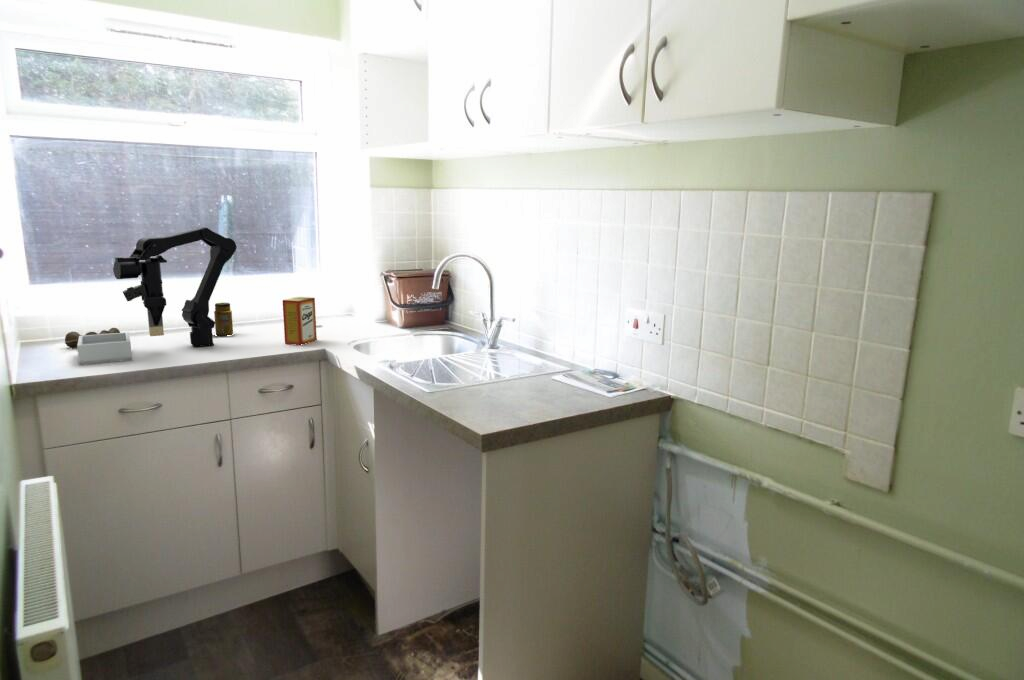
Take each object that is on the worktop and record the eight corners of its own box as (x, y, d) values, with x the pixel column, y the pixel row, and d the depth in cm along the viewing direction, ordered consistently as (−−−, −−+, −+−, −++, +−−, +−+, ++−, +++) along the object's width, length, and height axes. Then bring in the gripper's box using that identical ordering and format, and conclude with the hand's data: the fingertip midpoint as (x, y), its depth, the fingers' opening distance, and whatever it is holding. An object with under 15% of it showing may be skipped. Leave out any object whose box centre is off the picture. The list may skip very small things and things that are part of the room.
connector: (163, 333, 224) (160, 306, 223) (163, 335, 221) (161, 308, 219) (149, 334, 222) (147, 307, 221) (150, 336, 219) (147, 309, 217)
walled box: (130, 349, 226) (128, 332, 225) (132, 360, 211) (130, 341, 209) (81, 353, 219) (79, 335, 218) (79, 365, 204) (77, 345, 202)
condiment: (236, 333, 257) (233, 301, 255) (232, 337, 249) (229, 305, 247) (215, 333, 256) (213, 302, 253) (211, 337, 247) (208, 305, 245)
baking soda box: (300, 345, 235) (298, 300, 232) (285, 344, 237) (282, 299, 234) (316, 340, 244) (314, 296, 241) (301, 339, 246) (299, 295, 243)
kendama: (127, 342, 240) (77, 352, 221) (106, 341, 243) (54, 351, 224) (126, 326, 239) (74, 334, 220) (105, 325, 242) (52, 333, 223)
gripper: (122, 275, 222) (126, 322, 225) (123, 280, 206) (128, 331, 209) (160, 274, 228) (164, 319, 231) (164, 279, 212) (168, 328, 215)
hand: (155, 324), depth 221 cm, fingers closed on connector, 4 cm apart
